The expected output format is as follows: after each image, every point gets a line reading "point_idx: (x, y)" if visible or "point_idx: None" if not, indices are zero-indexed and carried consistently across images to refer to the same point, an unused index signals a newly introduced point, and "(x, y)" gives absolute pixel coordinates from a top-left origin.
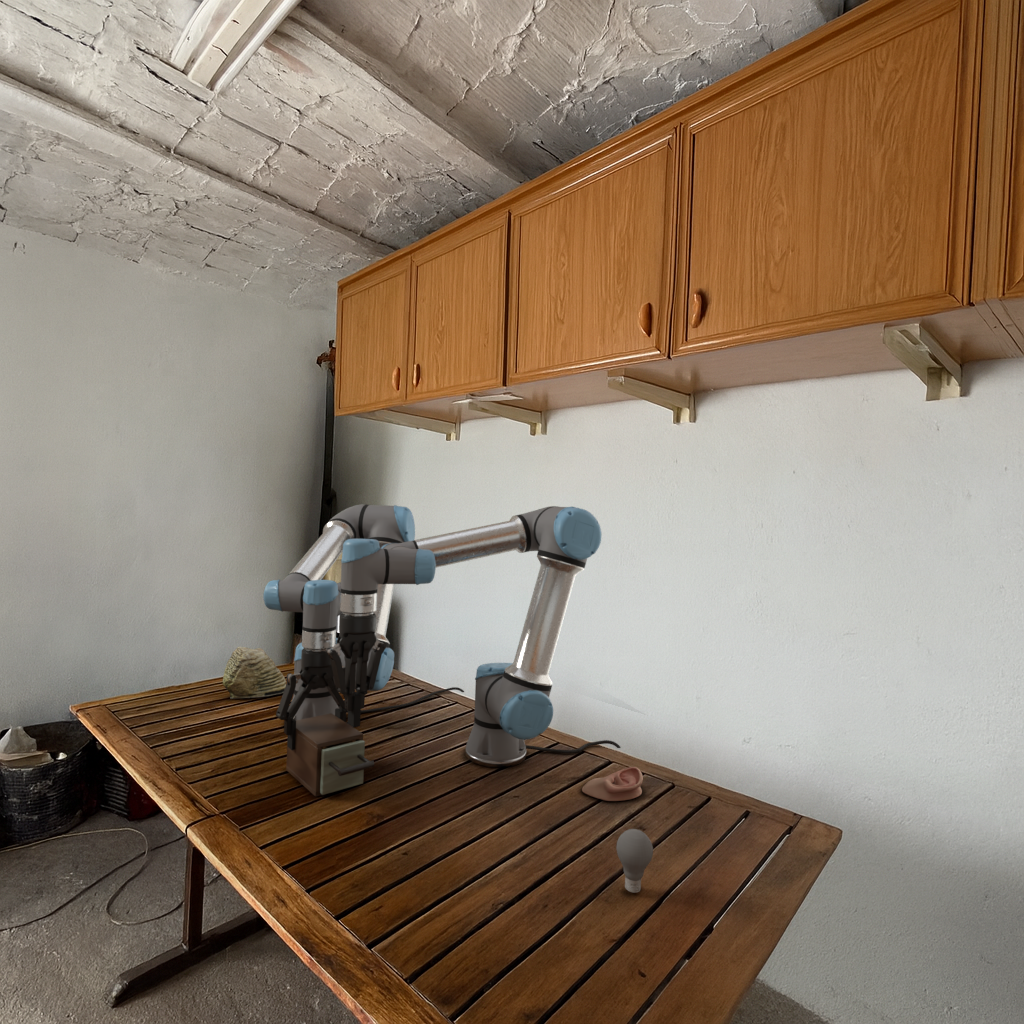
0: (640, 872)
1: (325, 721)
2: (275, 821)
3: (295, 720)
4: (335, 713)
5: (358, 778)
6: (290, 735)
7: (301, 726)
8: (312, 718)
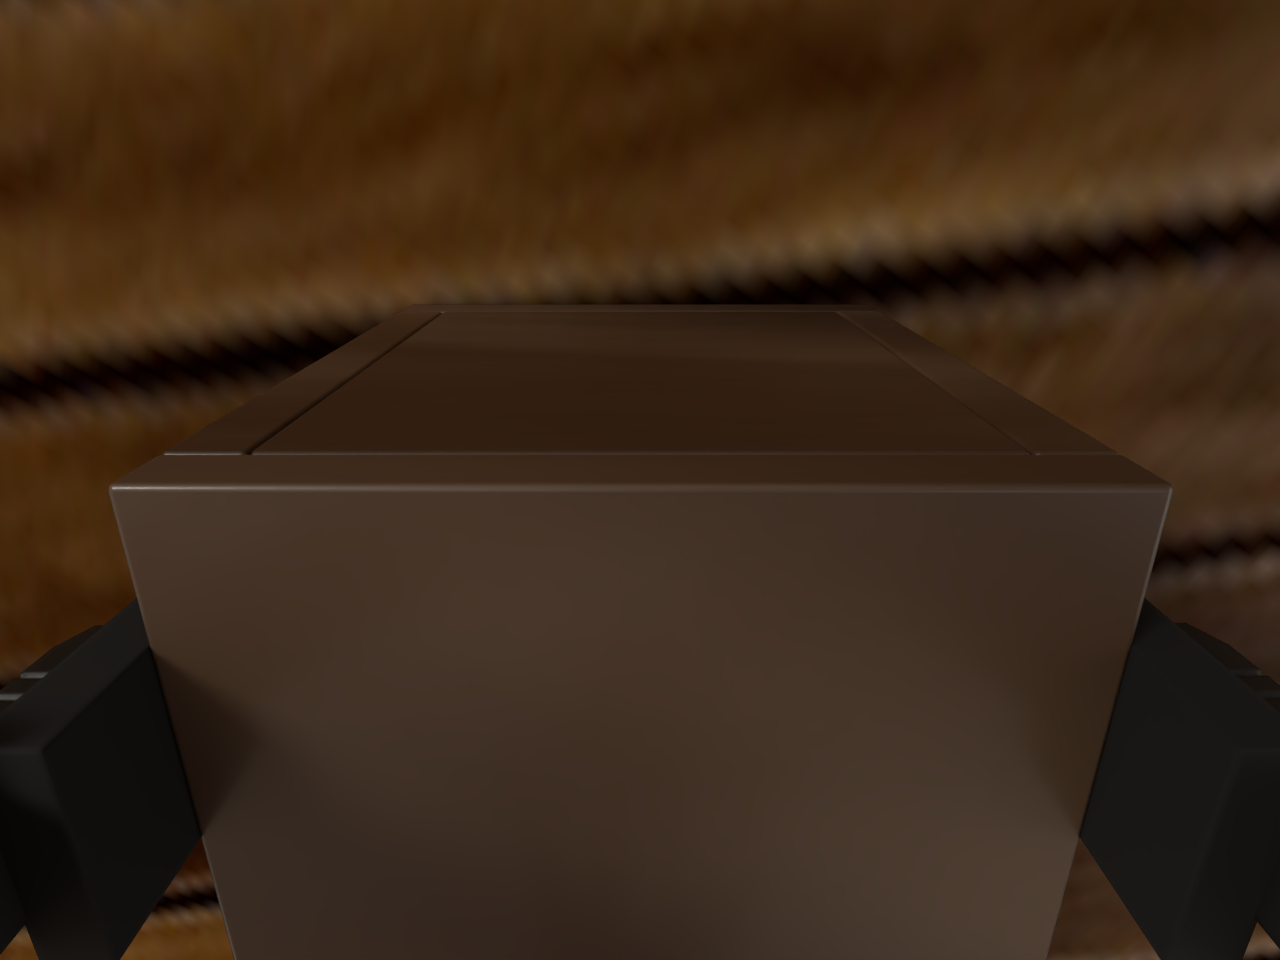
0: None
1: (788, 828)
2: (166, 946)
3: (103, 943)
4: (1157, 702)
5: None
6: None
7: (306, 832)
8: (655, 565)
